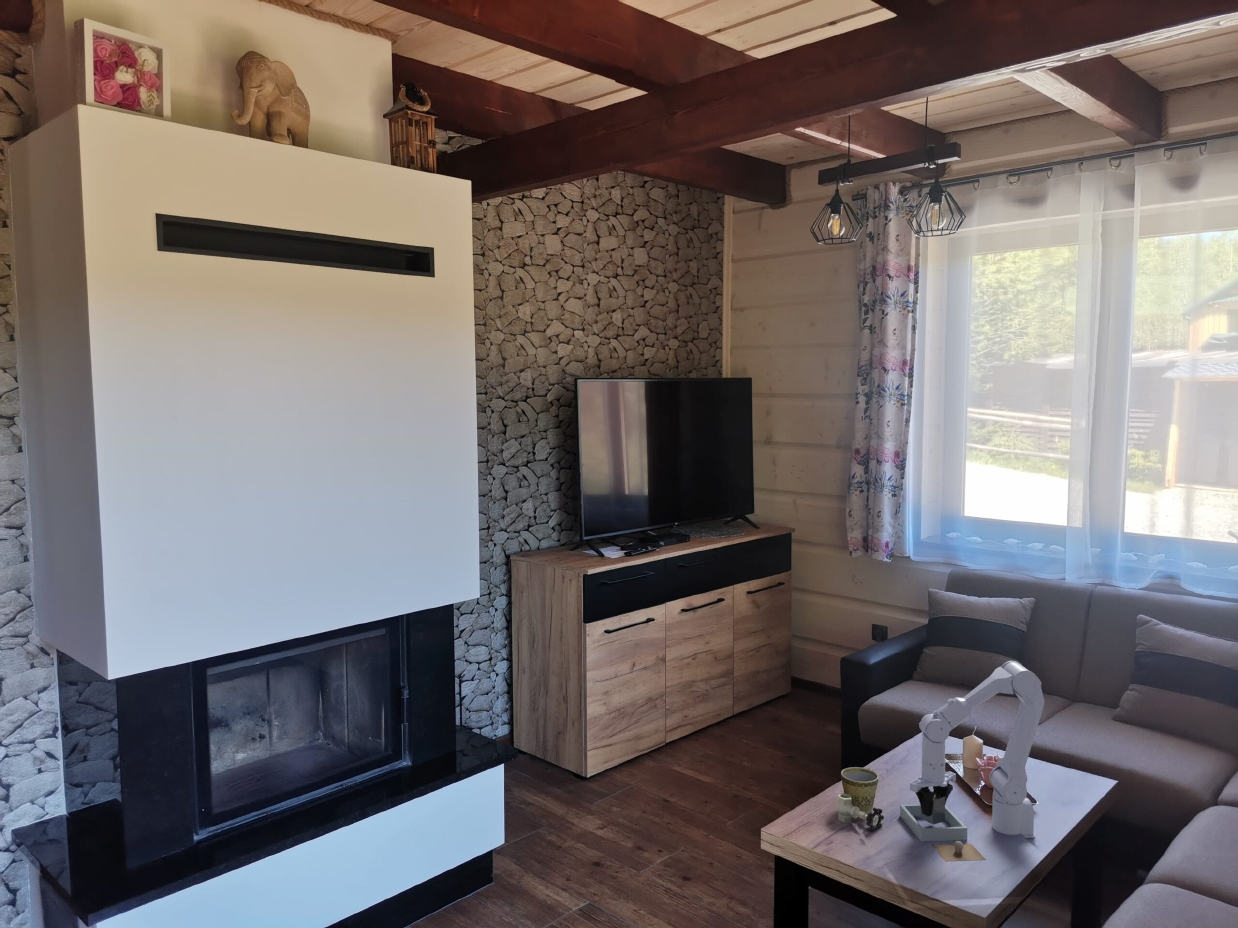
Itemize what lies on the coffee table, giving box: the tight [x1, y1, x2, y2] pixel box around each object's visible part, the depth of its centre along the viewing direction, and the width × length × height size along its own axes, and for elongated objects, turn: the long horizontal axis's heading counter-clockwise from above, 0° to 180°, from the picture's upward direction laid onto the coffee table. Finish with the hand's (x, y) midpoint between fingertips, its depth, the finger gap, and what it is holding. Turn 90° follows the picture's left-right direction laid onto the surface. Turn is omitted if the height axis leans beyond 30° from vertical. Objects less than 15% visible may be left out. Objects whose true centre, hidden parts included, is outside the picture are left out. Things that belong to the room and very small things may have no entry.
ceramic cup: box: [840, 766, 879, 815], centre depth 241 cm, size 13×10×10 cm
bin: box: [899, 803, 968, 842], centre depth 228 cm, size 12×14×4 cm
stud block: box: [932, 840, 987, 862], centre depth 215 cm, size 10×8×4 cm
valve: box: [836, 793, 885, 833], centre depth 231 cm, size 7×7×12 cm
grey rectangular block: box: [920, 790, 946, 825], centre depth 227 cm, size 4×4×6 cm
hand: (932, 812), depth 227 cm, fingers closed on grey rectangular block, 4 cm apart
